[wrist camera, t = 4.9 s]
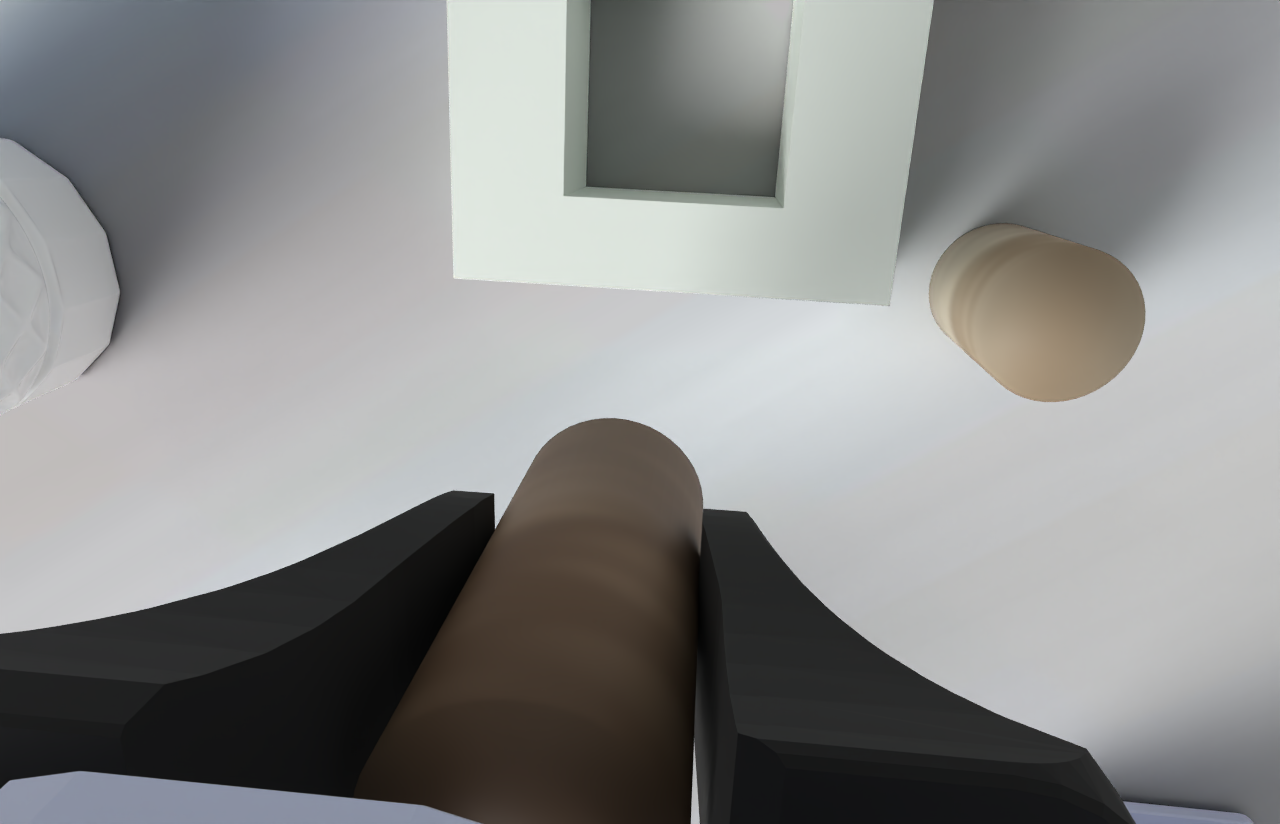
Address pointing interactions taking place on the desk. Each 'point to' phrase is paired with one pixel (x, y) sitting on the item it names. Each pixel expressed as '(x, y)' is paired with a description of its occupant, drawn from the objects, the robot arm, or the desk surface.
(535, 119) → the holder block
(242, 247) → the desk surface
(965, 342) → the short maple peg
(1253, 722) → the desk surface
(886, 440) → the desk surface
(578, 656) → the long walnut peg
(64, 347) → the white cup
